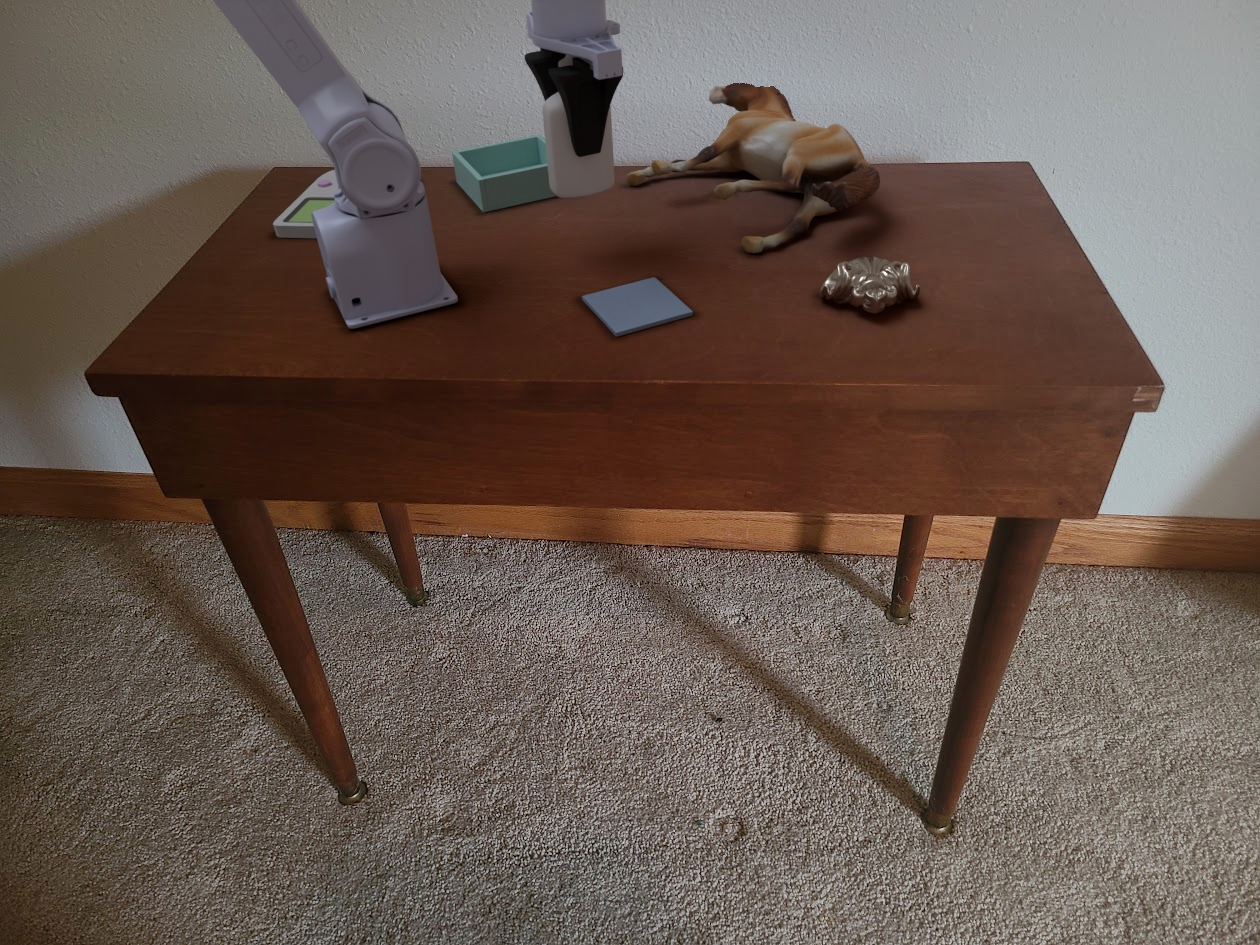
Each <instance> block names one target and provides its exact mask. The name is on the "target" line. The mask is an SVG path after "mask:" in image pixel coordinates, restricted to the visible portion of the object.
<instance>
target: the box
mask: <svg viewBox="0 0 1260 945" xmlns="http://www.w3.org/2000/svg"><path fill="white" fill-rule="evenodd" d="M451 156H452V161H453V162H452V163H453V169H454V174H455V181H456V183H457V185H458V186H459V187H460V188H461V189H462V190H463V191H464V193H465V194H466V195H467V196H468V197H469V198H470V199H471V200H472V201H473V203H474V204H475V205H476V206H477V207H478V208H479V209H480V211H481V212H482V213H487V212H491V211H496V210H501V209H505V208H509V207H514V206H519V205H522V204H527V203H532V202H537V201H541V200H546V199H549V198H555V197H557V196H556V195H555V194H554V193H553V192H552V191H551V189H550V185H549V175H548V165H547V155H546V144H545V136H543V135H541V134H536V135H529V136H525V137H519V138H514V139H509V140H504V141H498V142H494V143H487V144H485V145H478V146H473V147H468V148H464V149H459V150H458V149H457V150H453V151H451Z"/></svg>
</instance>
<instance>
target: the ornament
mask: <svg viewBox="0 0 1260 945" xmlns="http://www.w3.org/2000/svg"><path fill="white" fill-rule="evenodd" d="M910 272H911V266H910V264H909V263H908V262H905V261H904V262H900V261H898V260H894V261H892V262H891V261H889V260H887V259H886V258H879V257H877V256H871V257H865V256H859V257H857V258H853V259H850V260H849V261H847V260H842V261H840V262H839V263H838V264H837V267H836V268H835V269H834V270H833V271H832V272H831V273H830V274H829V276H827V277H826V279H825V280H824V282H823V283H822V285H821V287H820V288H819V291H818V296H819V298H820V299H824V298H825V299H826V300H829V301H830V300H832V301H833V302H834V303H836V304H837V305H844V304H848V303H850V304H851V305H852V306H854V307H856V308H859V307H860V306H862V309H863V311H866V312H868V313H871V314H878V313H879V314H880V313H881V312H883V311H884V310H885V308H890V307H892V306H894V305H900V304H901V303H903V301H904V300H908V299H909V300H910V301H912V300H914V299H918V297H919V296H920V293H921V285H920V284H916V285H914V287H913V286H912V285H911V280H910V279H911V276H910Z"/></svg>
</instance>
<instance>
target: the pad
mask: <svg viewBox="0 0 1260 945" xmlns="http://www.w3.org/2000/svg"><path fill="white" fill-rule="evenodd" d="M581 300H582V302H583V303H584V304H585V305H586V306H587V307H588V308H589V309H590V310H591V311H592V312H593V314H595V316H596V317H597V318H598V319H599V320H600V321H601V323H602V324H604V325H605V327H607V328H608V330H609V331H610V332H611V333H612V334H613V335H614V336H615V337H616V338H617V337H621V336H624V335H628V334H632V333H635V332H638V331H642V330H646V329H649V328H653V327H656V326H660V325H664V324H668V323H671V322H674V321H678V320H682V319H685V318H688V317H692V316H693V314H694V311H693V310H692V309H691V308H689V306H688V305H686V304H685V302H683V301H682V300H681V299H680V298H678V296H676V295H675V294H674V293H673V292H672V291H671V290H670V289H669V288H667V286H665V285H664V284H663V282H661V281H660V280H659V279H658V278H657V277H655V276H653V277H648V278H645V279H641V280H637V281H633V282H629V283H626V284H623V285H618V286H615V287H611V288H606V289H603V290H599V291H595V292H591V293H587V294H583V295H582V296H581Z"/></svg>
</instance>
